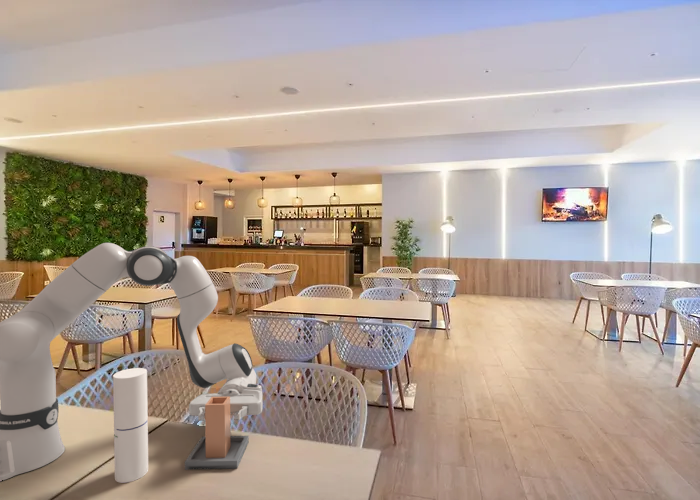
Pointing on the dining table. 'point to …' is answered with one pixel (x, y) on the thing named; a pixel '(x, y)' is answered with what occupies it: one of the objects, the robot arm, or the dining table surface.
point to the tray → (229, 462)
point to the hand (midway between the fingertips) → (218, 417)
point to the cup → (217, 427)
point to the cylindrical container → (130, 424)
